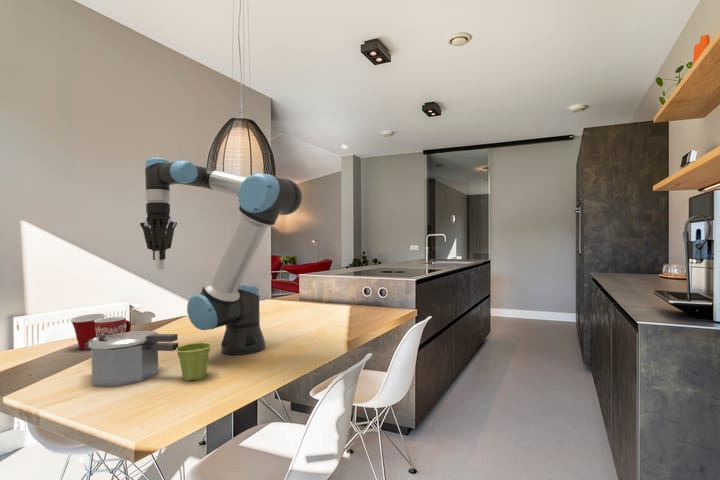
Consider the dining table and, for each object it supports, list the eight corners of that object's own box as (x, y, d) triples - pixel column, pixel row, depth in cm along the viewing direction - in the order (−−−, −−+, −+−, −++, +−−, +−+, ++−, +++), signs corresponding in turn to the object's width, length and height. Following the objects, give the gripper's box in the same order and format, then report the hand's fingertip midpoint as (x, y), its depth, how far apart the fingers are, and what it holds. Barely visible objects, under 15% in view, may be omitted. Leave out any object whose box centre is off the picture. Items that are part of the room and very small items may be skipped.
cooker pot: (192, 368, 118) (191, 335, 118) (157, 388, 103) (156, 350, 103) (110, 366, 123) (109, 334, 123) (64, 385, 107) (64, 348, 107)
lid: (192, 334, 119) (192, 325, 119) (154, 350, 102) (154, 339, 102) (118, 334, 123) (118, 325, 123) (70, 349, 106) (70, 339, 106)
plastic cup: (63, 352, 140) (62, 319, 140) (85, 344, 151) (84, 313, 151) (92, 352, 140) (91, 318, 140) (112, 344, 151) (111, 313, 151)
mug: (111, 363, 125) (110, 322, 125) (88, 362, 127) (87, 321, 127) (141, 352, 138) (140, 314, 138) (119, 351, 140) (119, 314, 140)
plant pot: (189, 385, 104) (189, 353, 104) (169, 379, 109) (168, 348, 109) (219, 375, 112) (218, 344, 112) (198, 370, 117) (197, 341, 117)
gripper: (181, 202, 140) (182, 268, 140) (148, 204, 142) (150, 268, 142) (168, 200, 133) (169, 269, 133) (133, 202, 135) (135, 270, 135)
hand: (159, 269), depth 138 cm, fingers closed
